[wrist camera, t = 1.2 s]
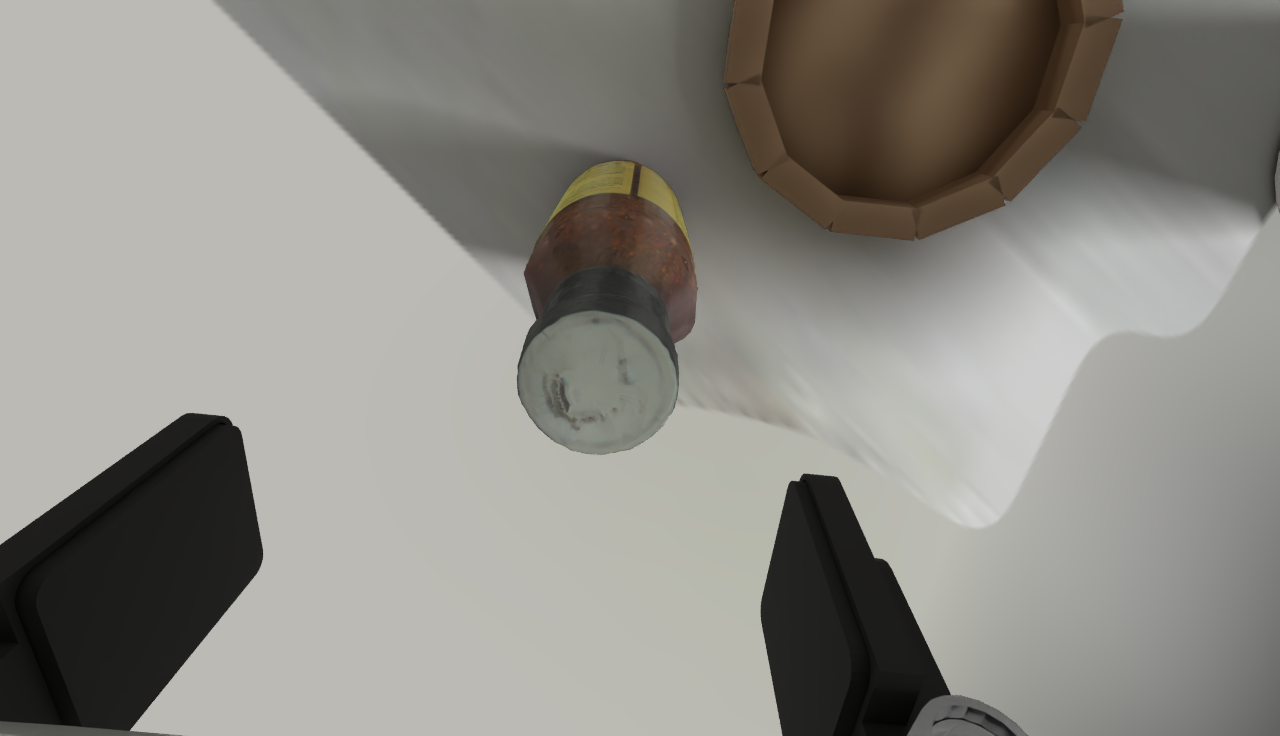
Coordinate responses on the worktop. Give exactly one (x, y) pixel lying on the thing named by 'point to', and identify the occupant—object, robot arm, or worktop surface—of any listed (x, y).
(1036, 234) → the worktop surface
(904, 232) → the walnut bowl
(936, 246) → the worktop surface
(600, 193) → the sauce bottle
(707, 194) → the worktop surface
